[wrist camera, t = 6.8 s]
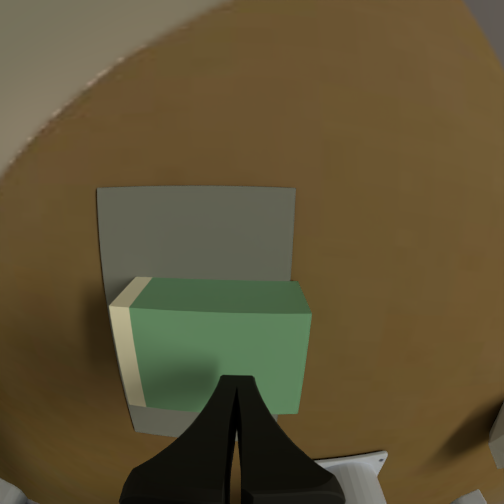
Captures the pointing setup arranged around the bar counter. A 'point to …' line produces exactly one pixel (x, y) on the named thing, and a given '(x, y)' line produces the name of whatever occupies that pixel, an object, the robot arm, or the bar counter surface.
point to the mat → (191, 249)
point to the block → (210, 340)
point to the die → (498, 439)
